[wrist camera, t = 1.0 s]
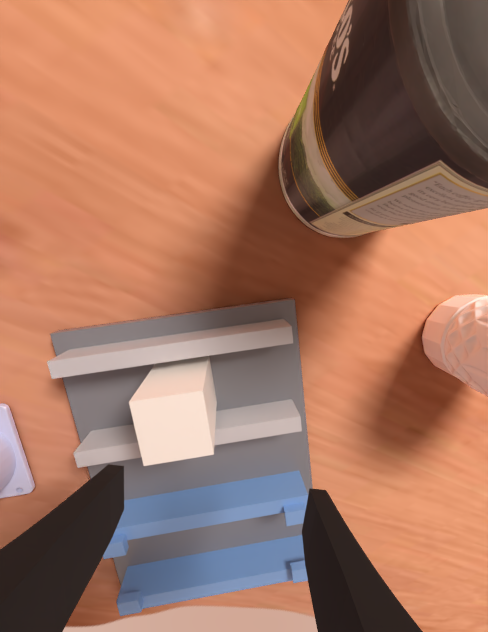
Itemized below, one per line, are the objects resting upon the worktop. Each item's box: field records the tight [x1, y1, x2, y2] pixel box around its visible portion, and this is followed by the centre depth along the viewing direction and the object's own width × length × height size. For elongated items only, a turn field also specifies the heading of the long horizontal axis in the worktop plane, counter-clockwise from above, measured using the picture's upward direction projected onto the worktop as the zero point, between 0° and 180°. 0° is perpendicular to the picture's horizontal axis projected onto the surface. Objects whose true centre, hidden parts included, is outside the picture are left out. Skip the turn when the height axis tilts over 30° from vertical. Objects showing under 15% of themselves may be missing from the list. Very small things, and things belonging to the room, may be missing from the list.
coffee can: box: [279, 0, 488, 238], centre depth 13 cm, size 10×10×14 cm
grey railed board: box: [47, 298, 313, 616], centre depth 21 cm, size 18×24×4 cm
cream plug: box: [129, 356, 217, 466], centre depth 18 cm, size 4×4×6 cm
